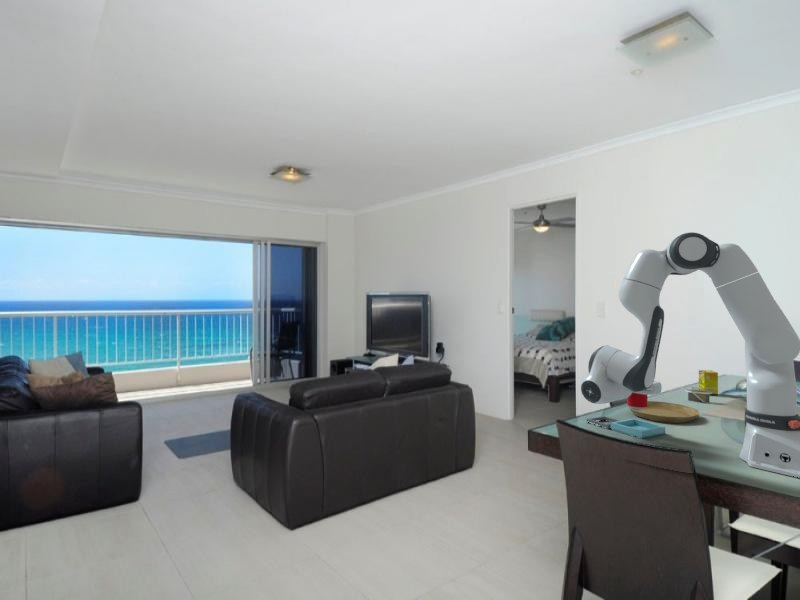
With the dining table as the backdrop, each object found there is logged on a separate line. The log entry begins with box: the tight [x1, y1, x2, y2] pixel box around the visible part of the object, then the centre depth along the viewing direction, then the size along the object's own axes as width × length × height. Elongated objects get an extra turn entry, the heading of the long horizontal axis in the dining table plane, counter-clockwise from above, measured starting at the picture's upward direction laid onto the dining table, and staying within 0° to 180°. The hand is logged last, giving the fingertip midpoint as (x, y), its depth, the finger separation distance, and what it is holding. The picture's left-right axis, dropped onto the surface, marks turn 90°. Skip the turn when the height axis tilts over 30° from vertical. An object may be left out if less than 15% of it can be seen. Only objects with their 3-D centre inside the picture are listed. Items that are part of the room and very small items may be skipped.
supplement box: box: [698, 369, 719, 397], centre depth 222 cm, size 6×6×11 cm
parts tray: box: [610, 418, 666, 439], centre depth 161 cm, size 12×12×2 cm
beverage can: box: [626, 393, 649, 409], centre depth 161 cm, size 6×6×12 cm
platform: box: [685, 386, 712, 404], centre depth 206 cm, size 12×18×7 cm, turn 60°
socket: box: [586, 415, 621, 428], centre depth 171 cm, size 9×9×2 cm
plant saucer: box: [627, 400, 700, 424], centre depth 183 cm, size 24×24×3 cm
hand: (638, 381), depth 162 cm, fingers closed on beverage can, 6 cm apart
